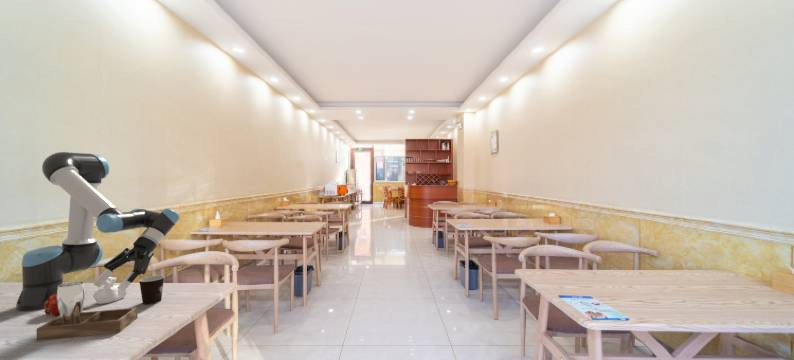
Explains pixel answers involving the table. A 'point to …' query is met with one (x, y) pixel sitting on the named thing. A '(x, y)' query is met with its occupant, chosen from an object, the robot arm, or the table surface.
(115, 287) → the white lumpy irregular piece
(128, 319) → the wooden tray
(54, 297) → the dragon fruit
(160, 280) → the coffee mug
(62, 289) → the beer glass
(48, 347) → the table surface
